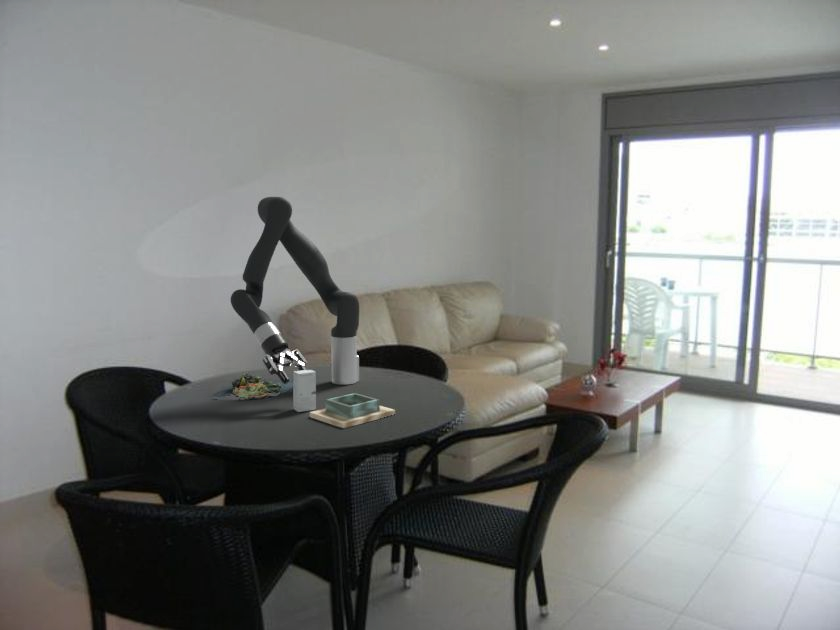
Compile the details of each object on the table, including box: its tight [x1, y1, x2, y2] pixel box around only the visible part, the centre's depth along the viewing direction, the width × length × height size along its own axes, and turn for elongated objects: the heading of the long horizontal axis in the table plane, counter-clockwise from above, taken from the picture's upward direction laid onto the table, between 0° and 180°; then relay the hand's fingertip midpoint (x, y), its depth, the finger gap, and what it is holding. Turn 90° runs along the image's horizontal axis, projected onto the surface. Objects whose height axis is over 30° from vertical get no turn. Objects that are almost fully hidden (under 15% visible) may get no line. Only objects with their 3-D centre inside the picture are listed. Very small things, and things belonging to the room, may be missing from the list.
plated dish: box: [208, 372, 293, 400], centre depth 230 cm, size 35×28×7 cm
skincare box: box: [292, 369, 317, 413], centre depth 206 cm, size 6×4×12 cm
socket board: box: [309, 392, 396, 429], centre depth 200 cm, size 20×16×5 cm
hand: (297, 379), depth 207 cm, fingers open, 8 cm apart
